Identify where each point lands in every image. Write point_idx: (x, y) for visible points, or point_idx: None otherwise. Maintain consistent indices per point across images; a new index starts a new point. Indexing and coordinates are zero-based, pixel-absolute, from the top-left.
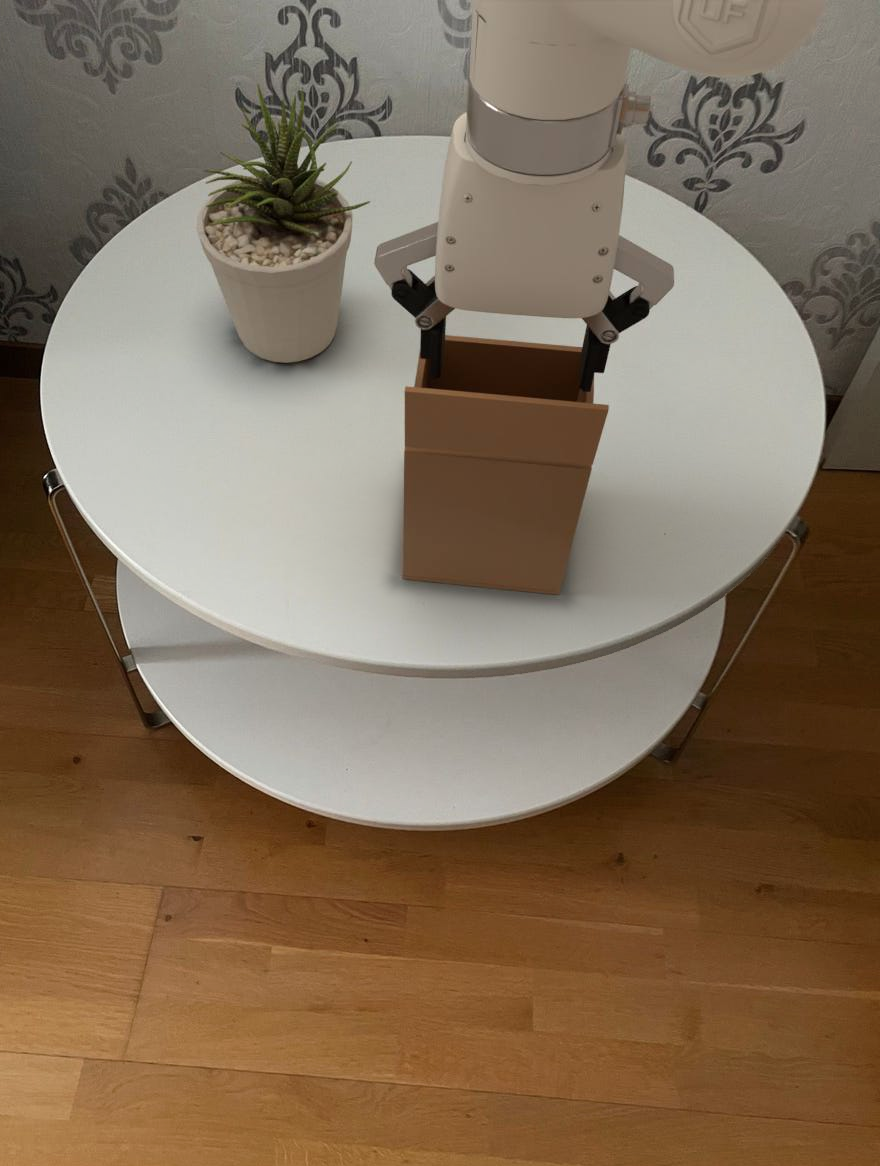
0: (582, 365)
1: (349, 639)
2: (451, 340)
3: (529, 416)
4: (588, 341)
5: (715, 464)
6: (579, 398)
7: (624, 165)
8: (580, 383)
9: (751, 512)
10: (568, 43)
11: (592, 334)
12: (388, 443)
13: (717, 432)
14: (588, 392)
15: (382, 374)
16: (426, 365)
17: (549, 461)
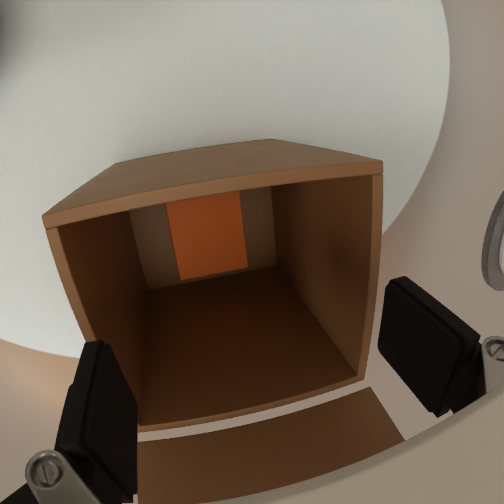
0: (399, 352)
1: None
2: (99, 216)
3: None
4: (435, 407)
5: (395, 94)
6: (333, 186)
7: None
8: (384, 357)
9: (418, 144)
10: None
11: (447, 404)
12: (75, 138)
13: (395, 58)
14: (372, 267)
15: (49, 49)
16: (77, 249)
17: (317, 391)
